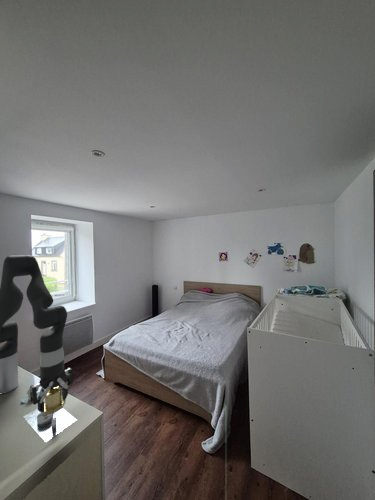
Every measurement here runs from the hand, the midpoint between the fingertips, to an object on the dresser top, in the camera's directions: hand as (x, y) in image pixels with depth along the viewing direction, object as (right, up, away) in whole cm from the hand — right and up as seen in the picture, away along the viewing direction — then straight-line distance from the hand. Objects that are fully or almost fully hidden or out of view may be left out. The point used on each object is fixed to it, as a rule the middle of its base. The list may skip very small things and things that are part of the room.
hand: (53, 404), depth 75 cm
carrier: (-5, -11, +5) cm, 13 cm away
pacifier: (-22, -12, +18) cm, 31 cm away
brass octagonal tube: (0, -1, 0) cm, 1 cm away
